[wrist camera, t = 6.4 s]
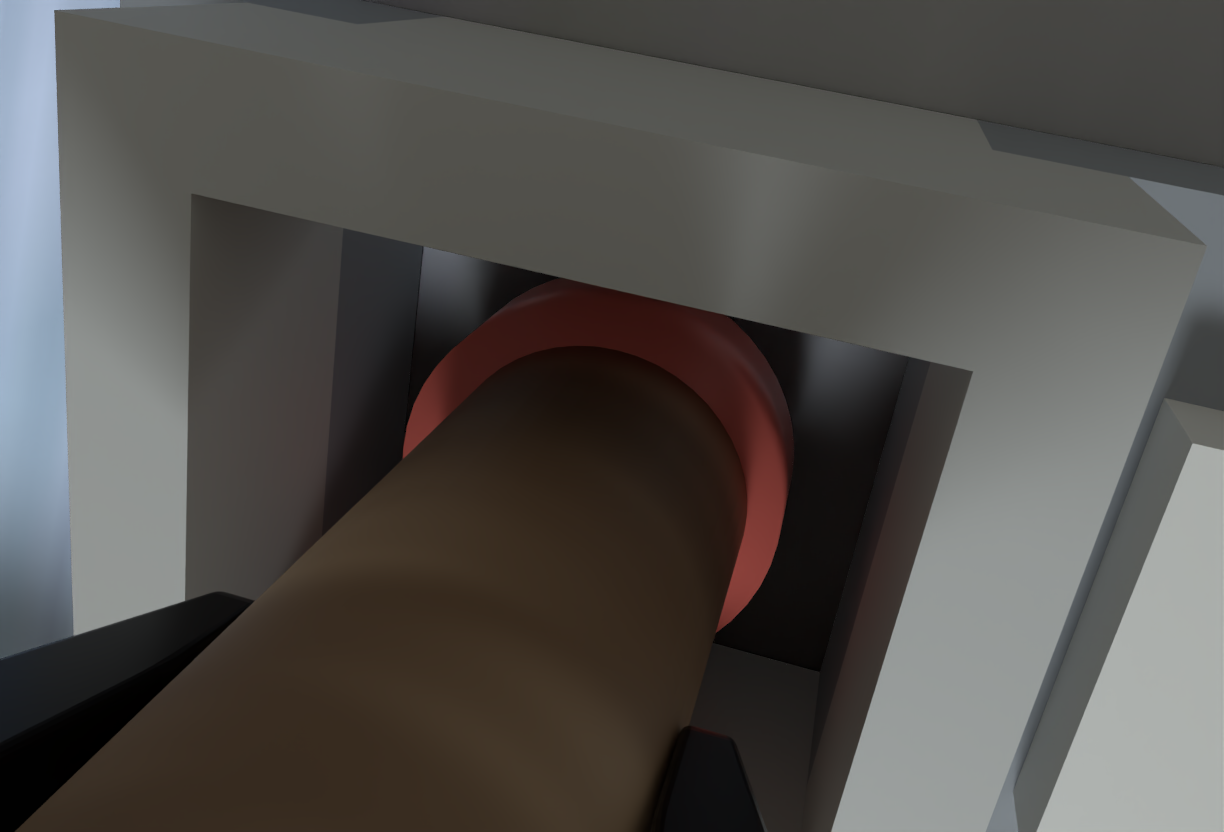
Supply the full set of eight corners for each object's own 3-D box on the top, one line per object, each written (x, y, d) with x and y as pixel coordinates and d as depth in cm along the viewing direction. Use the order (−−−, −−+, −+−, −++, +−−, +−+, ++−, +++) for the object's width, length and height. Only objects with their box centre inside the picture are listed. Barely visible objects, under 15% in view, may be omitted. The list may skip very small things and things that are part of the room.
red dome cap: (836, 296, 14) (824, 358, 12) (760, 599, 16) (736, 706, 13) (496, 220, 15) (421, 264, 12) (459, 519, 16) (387, 607, 14)
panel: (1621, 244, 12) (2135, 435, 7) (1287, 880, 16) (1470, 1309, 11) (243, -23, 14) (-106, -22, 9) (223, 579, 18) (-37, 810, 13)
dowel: (778, 389, 12) (365, 1756, 3) (712, 665, 13) (289, 2191, 4) (461, 313, 12) (-768, 1245, 3) (430, 585, 14) (-497, 1777, 5)
